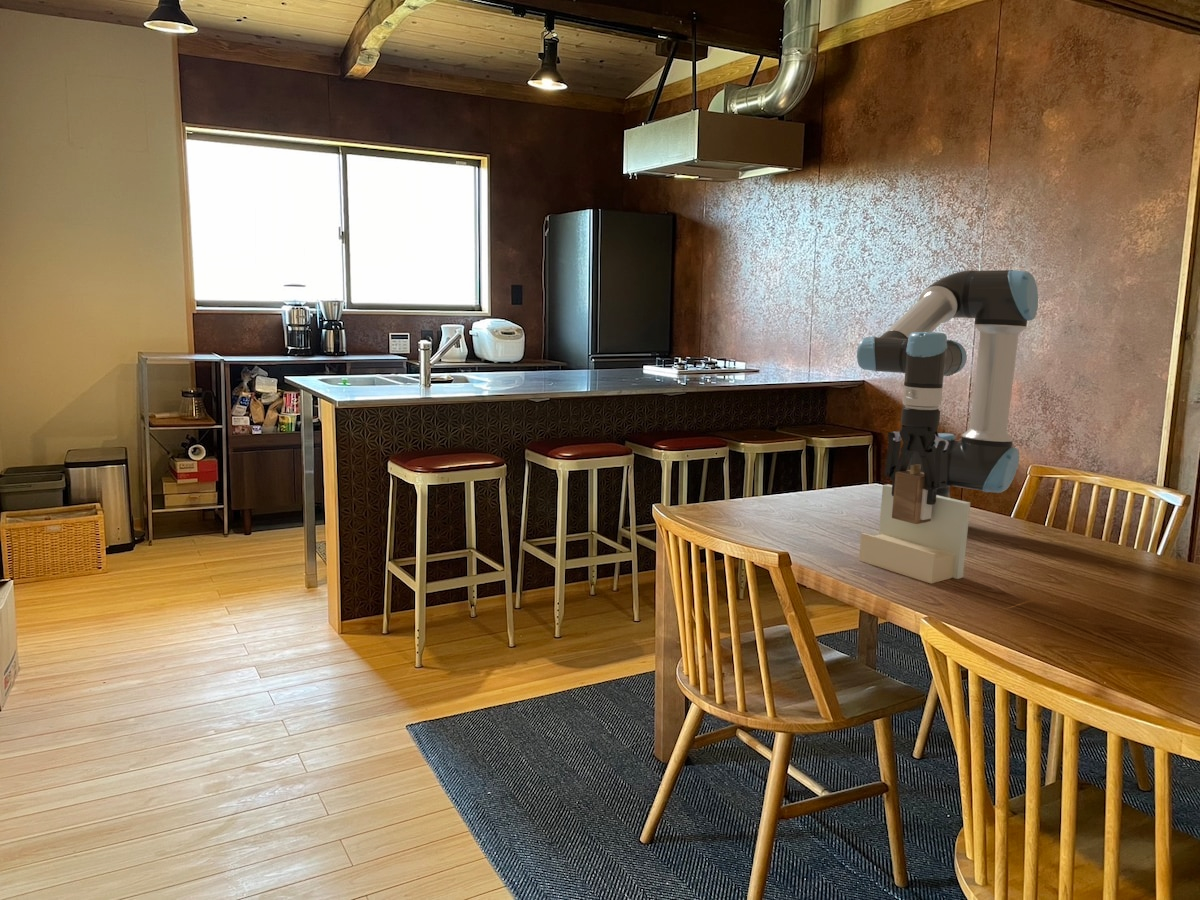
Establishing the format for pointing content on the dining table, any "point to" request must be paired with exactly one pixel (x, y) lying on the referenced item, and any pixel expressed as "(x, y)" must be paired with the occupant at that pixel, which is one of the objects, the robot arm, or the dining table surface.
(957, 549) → the wall board
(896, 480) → the wooden block with peg
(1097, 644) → the dining table surface
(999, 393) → the robot arm
